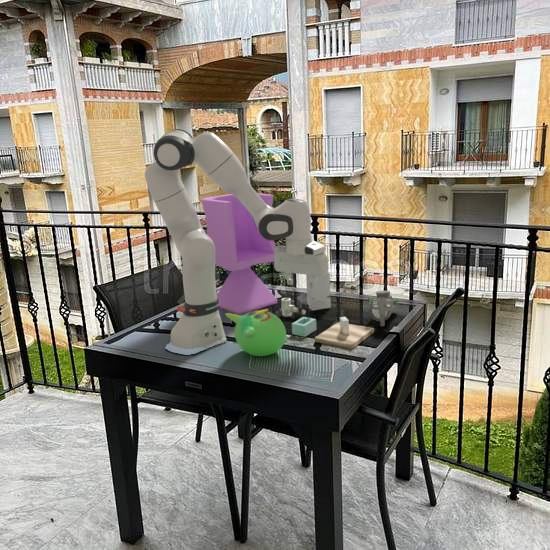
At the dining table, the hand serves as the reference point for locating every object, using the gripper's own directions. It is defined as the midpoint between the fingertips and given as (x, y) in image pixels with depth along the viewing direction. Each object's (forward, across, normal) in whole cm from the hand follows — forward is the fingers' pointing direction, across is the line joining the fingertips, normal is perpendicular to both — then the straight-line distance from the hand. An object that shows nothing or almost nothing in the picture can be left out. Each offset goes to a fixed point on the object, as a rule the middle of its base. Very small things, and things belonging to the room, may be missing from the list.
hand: (301, 285), depth 185 cm
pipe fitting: (+17, +19, +26) cm, 37 cm away
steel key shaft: (+16, +15, +2) cm, 22 cm away
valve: (+17, -12, +11) cm, 24 cm away
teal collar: (+17, 0, 0) cm, 17 cm away
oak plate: (+17, +15, +2) cm, 23 cm away
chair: (+17, -40, +16) cm, 46 cm away
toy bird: (+17, -3, -22) cm, 28 cm away
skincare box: (+17, -9, +25) cm, 32 cm away
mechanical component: (+17, +22, +17) cm, 33 cm away
